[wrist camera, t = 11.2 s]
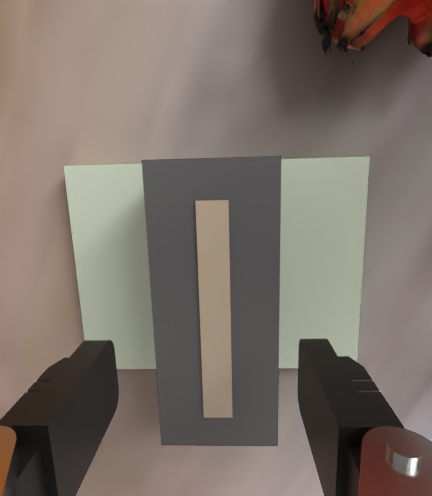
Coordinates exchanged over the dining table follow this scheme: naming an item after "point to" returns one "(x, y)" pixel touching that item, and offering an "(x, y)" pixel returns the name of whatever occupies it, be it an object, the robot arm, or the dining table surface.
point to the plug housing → (215, 297)
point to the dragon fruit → (371, 22)
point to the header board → (291, 256)
